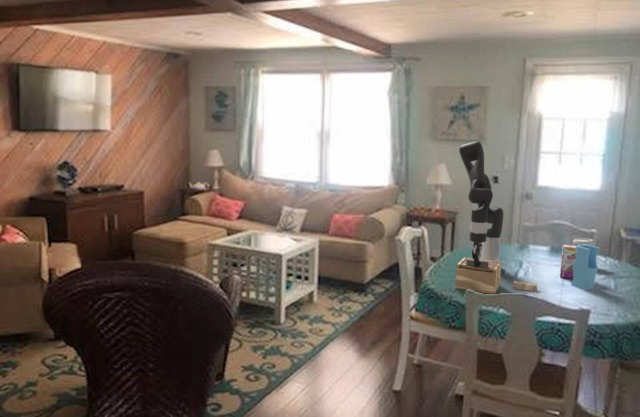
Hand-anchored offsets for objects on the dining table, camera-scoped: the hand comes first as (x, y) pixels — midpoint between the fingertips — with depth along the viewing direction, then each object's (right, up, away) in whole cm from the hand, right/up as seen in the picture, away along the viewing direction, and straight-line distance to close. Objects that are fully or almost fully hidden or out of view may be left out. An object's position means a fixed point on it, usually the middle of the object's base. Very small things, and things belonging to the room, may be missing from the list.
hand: (476, 266), depth 257 cm
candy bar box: (+56, -8, +24) cm, 62 cm away
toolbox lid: (+4, 0, +8) cm, 9 cm away
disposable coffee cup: (+71, -4, +47) cm, 85 cm away
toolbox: (+3, -11, +9) cm, 14 cm away
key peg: (+30, -10, +4) cm, 32 cm away
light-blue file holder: (+55, -11, +10) cm, 57 cm away
